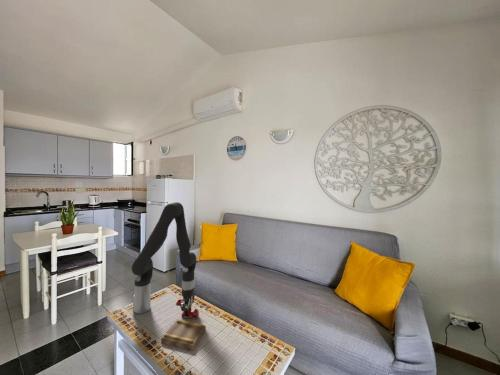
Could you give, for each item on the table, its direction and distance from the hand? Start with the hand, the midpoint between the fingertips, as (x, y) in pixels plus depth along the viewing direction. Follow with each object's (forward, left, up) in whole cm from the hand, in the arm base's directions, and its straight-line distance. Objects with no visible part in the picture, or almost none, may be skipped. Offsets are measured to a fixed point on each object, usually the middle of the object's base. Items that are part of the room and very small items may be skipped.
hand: (187, 313), depth 126 cm
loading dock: (+7, -15, -2) cm, 17 cm away
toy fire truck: (0, 0, -2) cm, 2 cm away
